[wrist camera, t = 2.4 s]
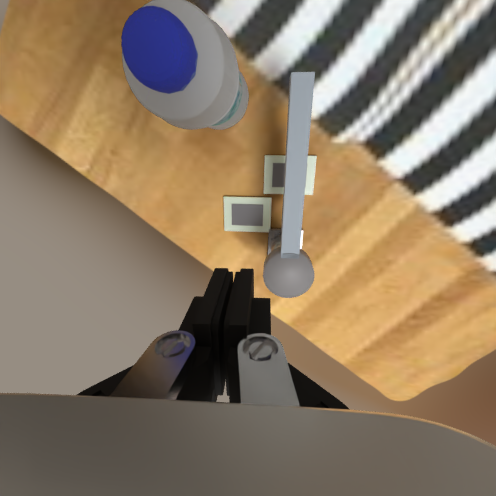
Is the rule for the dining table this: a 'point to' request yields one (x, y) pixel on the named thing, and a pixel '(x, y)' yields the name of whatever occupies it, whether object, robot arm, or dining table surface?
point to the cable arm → (293, 197)
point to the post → (277, 239)
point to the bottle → (183, 66)
